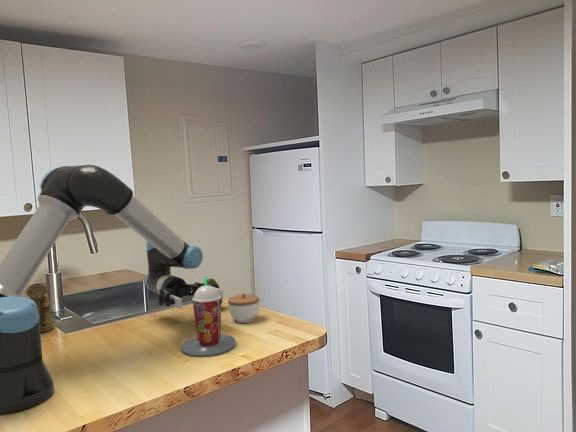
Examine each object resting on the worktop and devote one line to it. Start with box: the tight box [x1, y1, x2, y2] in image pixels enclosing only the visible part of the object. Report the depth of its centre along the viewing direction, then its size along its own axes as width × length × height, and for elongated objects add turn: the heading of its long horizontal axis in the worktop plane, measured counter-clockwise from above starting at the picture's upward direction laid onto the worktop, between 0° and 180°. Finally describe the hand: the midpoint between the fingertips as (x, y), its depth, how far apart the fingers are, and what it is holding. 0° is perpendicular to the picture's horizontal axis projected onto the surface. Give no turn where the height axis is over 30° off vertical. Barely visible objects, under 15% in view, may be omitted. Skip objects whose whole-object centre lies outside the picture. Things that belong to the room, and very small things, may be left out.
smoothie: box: [191, 275, 222, 346], centre depth 138 cm, size 8×8×20 cm
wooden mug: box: [25, 283, 56, 334], centre depth 159 cm, size 9×14×18 cm, turn 28°
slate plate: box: [180, 333, 237, 358], centre depth 138 cm, size 16×16×1 cm
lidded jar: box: [227, 292, 260, 324], centre depth 161 cm, size 11×11×9 cm
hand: (202, 299), depth 140 cm, fingers open, 13 cm apart
